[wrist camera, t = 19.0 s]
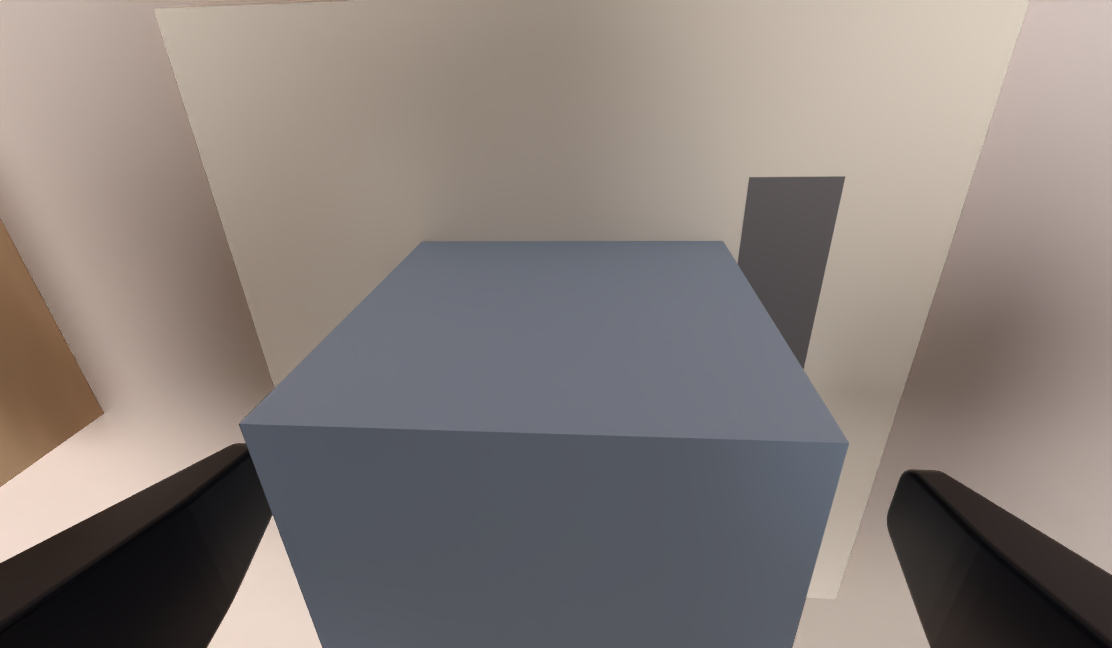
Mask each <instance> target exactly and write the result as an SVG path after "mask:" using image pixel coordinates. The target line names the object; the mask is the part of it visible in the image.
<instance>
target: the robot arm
mask: <svg viewBox="0 0 1112 648" xmlns="http://www.w3.org/2000/svg"><path fill="white" fill-rule="evenodd" d="M272 515H273V514H272V512H271V509H270V506H269V503H268V501H267V498H266V495H265V493H264V490H263V487H262V485H261V482H260V479H259V477H258V474H257V471H256V469H255V466H254V463H253V461H252V458H251V455H250V453H249V450H248V447H247V445H246V443H238V444H233V445H230V446H228V447H226V448H224V449H222V450H220V451H218V452H216V453H215V454H213V455H211V456H209V457H207V458H205V459H203V460H201V461H199V462H197V463H195V464H193V465H191V466H189V467H187V468H185V469H183V470H181V471H179V472H177V473H176V474H174V475H172V476H170V477H168V478H166V479H164V480H162V481H160V482H158V483H156V484H154V485H152V486H150V487H148V488H146V489H144V490H142V491H140V492H138V493H136V494H135V495H133V496H131V497H129V498H127V499H125V500H123V501H121V502H119V503H117V504H115V505H113V506H111V507H109V508H107V509H105V510H103V511H101V512H99V513H97V514H96V515H94V516H92V517H90V518H88V519H86V520H84V521H82V522H80V523H78V524H76V525H74V526H72V527H70V528H68V529H66V530H64V531H62V532H60V533H58V534H57V535H55V536H53V537H51V538H49V539H47V540H45V541H43V542H41V543H39V544H37V545H35V546H33V547H31V548H29V549H27V550H25V551H23V552H21V553H19V554H17V555H16V556H14V557H12V558H10V559H8V560H6V561H4V562H2V563H0V648H207V647H208V645H209V643H210V641H211V640H212V638H213V636H214V634H215V633H216V631H217V629H218V627H219V626H220V624H221V622H222V620H223V619H224V617H225V615H226V613H227V611H228V609H229V607H230V606H231V604H232V602H233V600H234V598H235V596H236V594H237V592H238V589H239V587H240V585H241V583H242V581H243V579H244V577H245V574H246V572H247V570H248V568H249V566H250V563H251V561H252V559H253V557H254V555H255V552H256V550H257V548H258V546H259V543H260V541H261V539H262V537H263V535H264V532H265V530H266V528H267V526H268V524H269V521H270V519H271V517H272ZM887 526H888V531H889V534H890V537H891V540H892V543H893V546H894V548H895V551H896V554H897V557H898V560H899V562H900V565H901V568H902V571H903V574H904V576H905V579H906V582H907V585H908V588H909V590H910V593H911V596H912V599H913V601H914V604H915V607H916V610H917V613H918V615H919V618H920V621H921V624H922V627H923V629H924V632H925V634H926V637H927V640H928V642H929V645H930V647H931V648H1112V575H1111V574H1109V573H1107V572H1106V571H1104V570H1103V569H1101V568H1099V567H1098V566H1096V565H1094V564H1093V563H1091V562H1089V561H1088V560H1086V559H1085V558H1083V557H1081V556H1080V555H1078V554H1076V553H1075V552H1073V551H1071V550H1070V549H1068V548H1066V547H1065V546H1063V545H1062V544H1060V543H1058V542H1057V541H1055V540H1053V539H1052V538H1050V537H1048V536H1047V535H1045V534H1044V533H1042V532H1040V531H1039V530H1037V529H1035V528H1034V527H1032V526H1030V525H1029V524H1027V523H1026V522H1024V521H1022V520H1021V519H1019V518H1017V517H1016V516H1014V515H1012V514H1011V513H1009V512H1007V511H1006V510H1004V509H1003V508H1001V507H999V506H998V505H996V504H994V503H993V502H991V501H989V500H988V499H986V498H985V497H983V496H981V495H980V494H978V493H976V492H975V491H973V490H971V489H970V488H968V487H966V486H965V485H963V484H962V483H960V482H958V481H957V480H955V479H953V478H952V477H950V476H948V475H947V474H945V473H943V472H940V471H936V470H914V469H912V470H907V471H905V472H904V473H903V474H902V475H901V477H900V480H899V482H898V485H897V488H896V491H895V494H894V497H893V499H892V502H891V505H890V508H889V511H888V515H887Z"/></svg>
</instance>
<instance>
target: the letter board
mask: <svg viewBox="0 0 1112 648" xmlns="http://www.w3.org/2000/svg"><path fill="white" fill-rule="evenodd" d="M1029 2H1030V0H350V1H326V2H302V3H277V4H253V5H229V6H204V7H180V8H156V9H153V10H154V13H155V16H156V19H157V23H158V26H159V29H160V32H161V35H162V38H163V41H164V44H165V48H166V51H167V54H168V57H169V60H170V63H171V66H172V69H173V73H174V76H175V79H176V82H177V85H178V88H179V91H180V95H181V98H182V101H183V104H184V107H185V110H186V113H187V116H188V120H189V123H190V126H191V129H192V132H193V135H194V138H195V141H196V145H197V148H198V151H199V154H200V157H201V160H202V163H203V166H204V170H205V173H206V176H207V179H208V182H209V185H210V188H211V191H212V195H213V198H214V201H215V204H216V207H217V210H218V213H219V216H220V220H221V223H222V226H223V229H224V232H225V235H226V238H227V241H228V245H229V248H230V251H231V254H232V257H233V260H234V263H235V266H236V270H237V273H238V276H239V279H240V282H241V285H242V288H243V291H244V295H245V298H246V301H247V304H248V307H249V310H250V313H251V316H252V320H253V323H254V326H255V329H256V332H257V335H258V338H259V341H260V345H261V348H262V351H263V354H264V357H265V360H266V363H267V366H268V370H269V373H270V376H271V379H272V382H273V385H274V388H275V387H276V386H277V385H278V384H279V383H280V382H281V381H282V380H283V379H284V378H285V377H286V376H287V375H288V374H289V373H290V372H291V371H292V370H293V369H294V368H295V367H296V366H297V365H298V364H299V363H300V362H301V361H302V360H303V359H304V358H305V357H306V356H307V355H308V354H309V353H310V352H311V351H312V350H313V349H314V348H315V347H316V346H317V345H318V344H319V343H320V342H321V341H322V340H323V339H324V338H325V337H326V336H327V335H328V334H329V333H330V332H331V331H332V330H333V329H334V328H335V327H336V326H337V325H338V324H339V323H340V322H341V321H342V320H343V319H344V318H345V317H346V316H347V315H348V314H349V313H350V312H351V311H352V310H353V309H354V308H355V307H356V306H357V305H358V304H359V303H360V302H361V301H362V300H364V299H365V298H366V297H367V296H368V295H369V294H370V293H371V292H372V291H373V290H374V289H375V288H376V287H377V286H378V285H379V284H380V283H381V282H382V281H383V280H384V279H385V278H386V277H387V276H388V275H389V274H390V273H391V272H392V271H393V270H394V269H395V268H396V267H397V266H398V265H399V264H400V263H401V262H402V261H403V260H404V259H405V258H406V257H407V256H408V255H409V254H410V253H411V252H412V251H413V250H414V249H415V248H416V247H417V246H418V245H419V244H420V243H421V242H447V241H723V242H724V243H725V245H726V247H727V248H728V250H729V251H730V253H731V255H732V256H733V258H734V259H735V261H736V263H737V264H738V266H739V267H740V269H741V271H742V272H743V274H744V275H745V277H746V279H747V280H748V282H749V283H750V285H751V287H752V288H753V290H754V291H755V293H756V295H757V296H758V298H759V299H760V301H761V303H762V304H763V306H764V307H765V309H766V311H767V312H768V314H769V315H770V317H771V319H772V320H773V322H774V323H775V325H776V327H777V328H778V330H779V331H780V333H781V335H782V336H783V338H784V339H785V341H786V343H787V344H788V346H789V347H790V349H791V351H792V352H793V354H794V355H795V357H796V359H797V360H798V362H799V363H800V365H801V367H802V368H803V370H804V371H805V373H806V375H807V376H808V378H809V379H810V381H811V383H812V384H813V386H814V387H815V389H816V391H817V392H818V394H819V395H820V397H821V399H822V400H823V402H824V403H825V405H826V407H827V408H828V410H829V411H830V413H831V415H832V416H833V418H834V419H835V421H836V423H837V424H838V426H839V428H840V429H841V431H842V432H843V434H844V436H845V437H846V439H847V440H848V442H849V446H848V449H847V453H846V457H845V460H844V464H843V467H842V471H841V474H840V478H839V482H838V485H837V489H836V492H835V496H834V500H833V503H832V507H831V510H830V514H829V517H828V521H827V525H826V528H825V532H824V535H823V539H822V542H821V546H820V550H819V553H818V557H817V560H816V564H815V568H814V571H813V575H812V578H811V582H810V585H809V589H808V593H807V596H806V598H821V599H836V597H837V594H838V591H839V588H840V585H841V581H842V578H843V575H844V572H845V569H846V566H847V563H848V560H849V557H850V554H851V551H852V548H853V544H854V541H855V538H856V535H857V532H858V529H859V526H860V523H861V520H862V517H863V514H864V511H865V507H866V504H867V501H868V498H869V495H870V492H871V489H872V486H873V483H874V480H875V477H876V474H877V470H878V467H879V464H880V461H881V458H882V455H883V452H884V449H885V446H886V443H887V440H888V437H889V433H890V430H891V427H892V424H893V421H894V418H895V415H896V412H897V409H898V406H899V403H900V400H901V396H902V393H903V390H904V387H905V384H906V381H907V378H908V375H909V372H910V369H911V366H912V363H913V359H914V356H915V353H916V350H917V347H918V344H919V341H920V338H921V335H922V332H923V329H924V326H925V322H926V319H927V316H928V313H929V310H930V307H931V304H932V301H933V298H934V295H935V292H936V289H937V285H938V282H939V279H940V276H941V273H942V270H943V267H944V264H945V261H946V258H947V255H948V252H949V248H950V245H951V242H952V239H953V236H954V233H955V230H956V227H957V224H958V221H959V218H960V215H961V212H962V208H963V205H964V202H965V199H966V196H967V193H968V190H969V187H970V184H971V181H972V178H973V175H974V171H975V168H976V165H977V162H978V159H979V156H980V153H981V150H982V147H983V144H984V141H985V138H986V134H987V131H988V128H989V125H990V122H991V119H992V116H993V113H994V110H995V107H996V104H997V101H998V97H999V94H1000V91H1001V88H1002V85H1003V82H1004V79H1005V76H1006V73H1007V70H1008V67H1009V64H1010V60H1011V57H1012V54H1013V51H1014V48H1015V45H1016V42H1017V39H1018V36H1019V33H1020V30H1021V27H1022V23H1023V20H1024V17H1025V14H1026V11H1027V8H1028V5H1029Z"/></svg>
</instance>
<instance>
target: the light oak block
mask: <svg viewBox="0 0 1112 648" xmlns="http://www.w3.org/2000/svg"><path fill="white" fill-rule="evenodd" d="M102 414H104V412H103V411H102V409H101V407H100V405H99V403H98V401H97V399H96V397H95V396H94V394H93V392H92V390H91V388H90V386H89V384H88V382H87V381H86V379H85V377H84V375H83V373H82V371H81V369H80V367H79V366H78V364H77V362H76V360H75V358H74V356H73V354H72V352H71V351H70V349H69V347H68V345H67V343H66V341H65V339H64V337H63V336H62V334H61V332H60V330H59V328H58V326H57V324H56V322H55V321H54V319H53V317H52V315H51V313H50V311H49V309H48V307H47V306H46V304H45V302H44V300H43V298H42V296H41V294H40V292H39V291H38V289H37V287H36V285H35V283H34V281H33V279H32V277H31V276H30V274H29V272H28V270H27V268H26V266H25V264H24V262H23V261H22V259H21V257H20V255H19V253H18V251H17V249H16V247H15V246H14V244H13V242H12V240H11V238H10V236H9V234H8V232H7V230H6V229H5V227H4V225H3V223H2V221H1V219H0V487H1V486H2V485H4V484H5V483H7V482H8V481H9V480H11V479H12V478H14V477H15V476H16V475H18V474H19V473H21V472H22V471H23V470H25V469H26V468H28V467H29V466H30V465H32V464H33V463H35V462H36V461H38V460H39V459H40V458H42V457H43V456H45V455H46V454H47V453H49V452H50V451H52V450H53V449H54V448H56V447H57V446H59V445H60V444H61V443H63V442H64V441H66V440H67V439H69V438H70V437H71V436H73V435H74V434H76V433H77V432H78V431H80V430H81V429H83V428H84V427H85V426H87V425H88V424H90V423H91V422H92V421H94V420H95V419H97V418H98V417H99V416H101V415H102Z"/></svg>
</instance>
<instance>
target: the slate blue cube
mask: <svg viewBox="0 0 1112 648" xmlns="http://www.w3.org/2000/svg"><path fill="white" fill-rule="evenodd" d="M239 426H240V429H241V431H242V434H243V437H244V439H245V442H246V445H247V447H248V450H249V453H250V455H251V458H252V461H253V463H254V466H255V469H256V471H257V474H258V477H259V479H260V482H261V485H262V487H263V490H264V493H265V495H266V498H267V501H268V503H269V506H270V509H271V512H272V514H273V517H274V520H275V522H276V525H277V528H278V530H279V533H280V536H281V538H282V541H283V544H284V546H285V549H286V552H287V554H288V557H289V560H290V562H291V565H292V568H293V570H294V573H295V576H296V578H297V581H298V584H299V586H300V589H301V592H302V594H303V597H304V600H305V602H306V605H307V608H308V610H309V613H310V616H311V618H312V621H313V624H314V626H315V629H316V632H317V634H318V637H319V640H320V642H321V645H322V648H792V646H793V643H794V639H795V636H796V632H797V628H798V625H799V621H800V618H801V614H802V611H803V607H804V603H805V600H806V596H807V593H808V589H809V585H810V582H811V578H812V575H813V571H814V568H815V564H816V560H817V557H818V553H819V550H820V546H821V542H822V539H823V535H824V532H825V528H826V525H827V521H828V517H829V514H830V510H831V507H832V503H833V500H834V496H835V492H836V489H837V485H838V482H839V478H840V474H841V471H842V467H843V464H844V460H845V457H846V453H847V449H848V446H849V442H848V440H847V439H846V437H845V436H844V434H843V432H842V431H841V429H840V428H839V426H838V424H837V423H836V421H835V419H834V418H833V416H832V415H831V413H830V411H829V410H828V408H827V407H826V405H825V403H824V402H823V400H822V399H821V397H820V395H819V394H818V392H817V391H816V389H815V387H814V386H813V384H812V383H811V381H810V379H809V378H808V376H807V375H806V373H805V371H804V370H803V368H802V367H801V365H800V363H799V362H798V360H797V359H796V357H795V355H794V354H793V352H792V351H791V349H790V347H789V346H788V344H787V343H786V341H785V339H784V338H783V336H782V335H781V333H780V331H779V330H778V328H777V327H776V325H775V323H774V322H773V320H772V319H771V317H770V315H769V314H768V312H767V311H766V309H765V307H764V306H763V304H762V303H761V301H760V299H759V298H758V296H757V295H756V293H755V291H754V290H753V288H752V287H751V285H750V283H749V282H748V280H747V279H746V277H745V275H744V274H743V272H742V271H741V269H740V267H739V266H738V264H737V263H736V261H735V259H734V258H733V256H732V255H731V253H730V251H729V250H728V248H727V247H726V245H725V243H724V242H723V241H447V242H421V243H420V244H419V245H418V246H417V247H416V248H415V249H414V250H413V251H412V252H411V253H410V254H409V255H408V256H407V257H406V258H405V259H404V260H403V261H402V262H401V263H400V264H399V265H398V266H397V267H396V268H395V269H394V270H393V271H392V272H391V273H390V274H389V275H388V276H387V277H386V278H385V279H384V280H383V281H382V282H381V283H380V284H379V285H378V286H377V287H376V288H375V289H374V290H373V291H372V292H371V293H370V294H369V295H368V296H367V297H366V298H365V299H364V300H362V301H361V302H360V303H359V304H358V305H357V306H356V307H355V308H354V309H353V310H352V311H351V312H350V313H349V314H348V315H347V316H346V317H345V318H344V319H343V320H342V321H341V322H340V323H339V324H338V325H337V326H336V327H335V328H334V329H333V330H332V331H331V332H330V333H329V334H328V335H327V336H326V337H325V338H324V339H323V340H322V341H321V342H320V343H319V344H318V345H317V346H316V347H315V348H314V349H313V350H312V351H311V352H310V353H309V354H308V355H307V356H306V357H305V358H304V359H303V360H302V361H301V362H300V363H299V364H298V365H297V366H296V367H295V368H294V369H293V370H292V371H291V372H290V373H289V374H288V375H287V376H286V377H285V378H284V379H283V380H282V381H281V382H280V383H279V384H278V385H277V386H276V387H275V388H274V389H273V390H272V391H271V392H270V393H269V394H268V395H267V396H266V397H265V398H264V399H263V400H262V401H261V402H260V403H259V404H258V405H257V406H256V407H255V408H254V409H253V410H252V411H251V412H250V413H249V414H248V415H247V416H246V417H245V418H244V419H243V420H242V421H241V422H240V423H239Z"/></svg>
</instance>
